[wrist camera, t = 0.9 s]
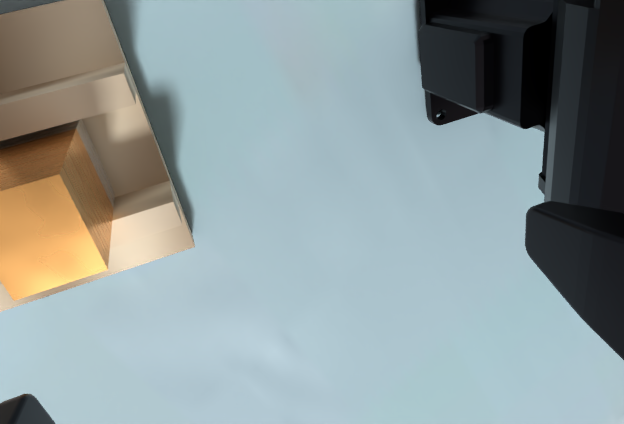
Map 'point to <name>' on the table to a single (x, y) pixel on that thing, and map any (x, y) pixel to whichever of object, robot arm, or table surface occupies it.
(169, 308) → the table surface
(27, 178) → the lock bolt
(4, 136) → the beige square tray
